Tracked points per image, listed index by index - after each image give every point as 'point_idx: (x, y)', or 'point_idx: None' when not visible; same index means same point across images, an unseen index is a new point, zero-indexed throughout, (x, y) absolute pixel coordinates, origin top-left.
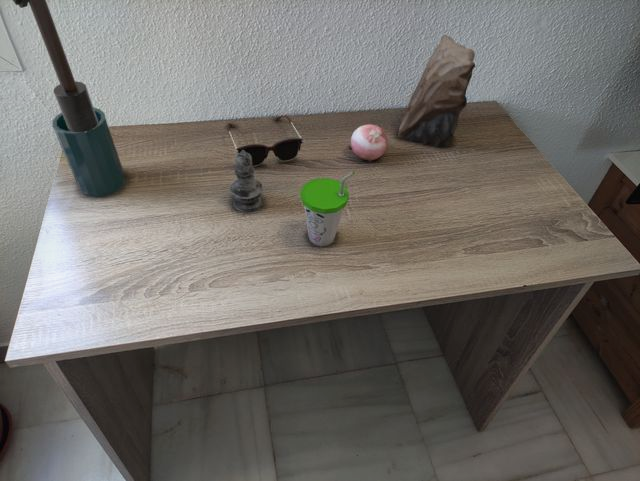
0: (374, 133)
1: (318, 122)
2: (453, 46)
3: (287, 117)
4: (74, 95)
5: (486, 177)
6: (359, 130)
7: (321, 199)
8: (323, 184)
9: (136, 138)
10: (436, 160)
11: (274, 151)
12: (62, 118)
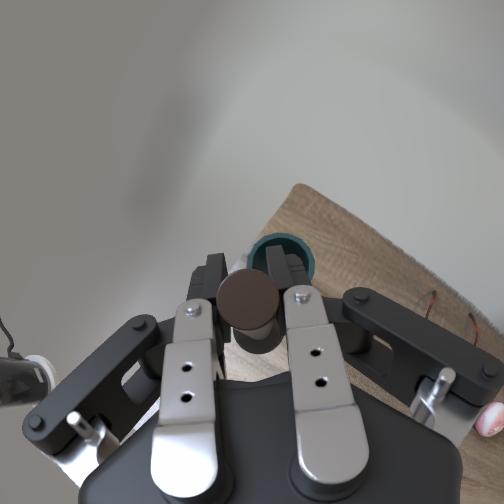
0: (496, 431)
1: (490, 344)
2: None
3: (476, 337)
4: (253, 353)
5: (498, 481)
6: (495, 416)
7: None
8: None
9: (346, 239)
10: (500, 450)
11: None
12: (268, 242)
